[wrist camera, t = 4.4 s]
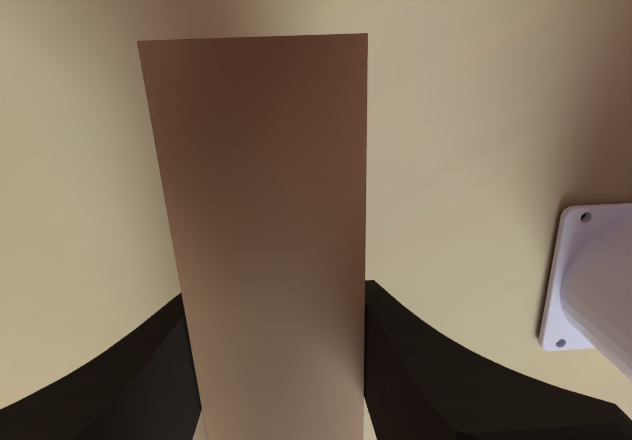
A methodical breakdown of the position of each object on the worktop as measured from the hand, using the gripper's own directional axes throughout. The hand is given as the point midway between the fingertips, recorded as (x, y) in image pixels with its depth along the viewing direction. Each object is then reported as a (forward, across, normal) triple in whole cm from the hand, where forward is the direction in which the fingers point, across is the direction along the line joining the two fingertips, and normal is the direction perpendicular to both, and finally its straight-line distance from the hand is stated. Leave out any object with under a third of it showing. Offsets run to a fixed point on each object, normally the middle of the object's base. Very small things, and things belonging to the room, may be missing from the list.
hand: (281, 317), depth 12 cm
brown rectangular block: (+2, 0, +2) cm, 3 cm away
